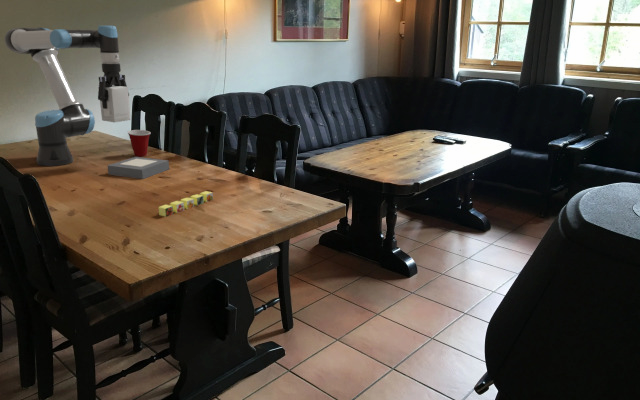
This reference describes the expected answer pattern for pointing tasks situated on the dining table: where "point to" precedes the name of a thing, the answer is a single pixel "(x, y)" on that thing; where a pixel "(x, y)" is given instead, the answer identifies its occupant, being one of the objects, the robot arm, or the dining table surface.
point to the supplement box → (117, 104)
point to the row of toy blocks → (185, 203)
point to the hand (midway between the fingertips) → (115, 114)
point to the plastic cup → (139, 141)
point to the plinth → (138, 167)
